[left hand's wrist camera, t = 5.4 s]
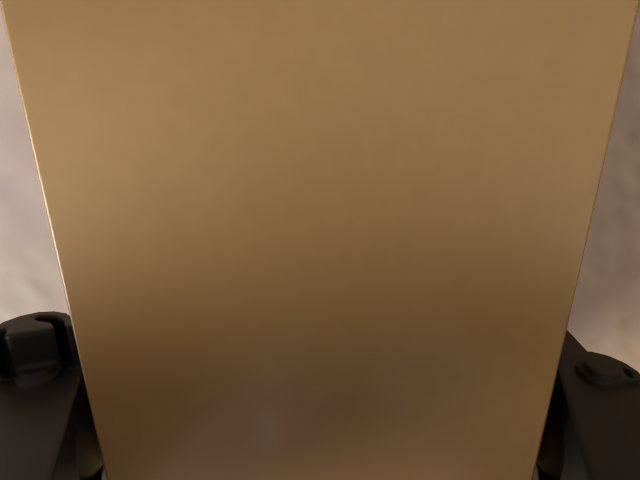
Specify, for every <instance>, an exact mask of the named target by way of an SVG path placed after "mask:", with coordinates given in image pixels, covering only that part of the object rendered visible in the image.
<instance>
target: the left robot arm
mask: <svg viewBox="0 0 640 480" xmlns="http://www.w3.org/2000/svg"><path fill="white" fill-rule="evenodd" d="M0 480H107V478H106V474H105V469H104V465H103V460H102V456H101V452H100V447H99V443H98V438H97V434H96V429H95V425H94V420H93V416H92V411H91V407H90V403H89V398H88V394H87V389H86V385H85V380H84V376H83V371H82V367H81V362H80V358H79V354H78V349H77V345H76V340H75V336H74V331H73V327H72V322H71V318H70V316H69V315H67V314H66V313H60V312H54V311H53V312H37V313H33V314H28V315H23V316H19V317H17V318H14V319H11V320H8V321H6V322H3V323H1V324H0ZM533 480H640V374H639V373H638V372H637V371H636V370H634V369H633V368H631V367H630V366H628V365H627V364H625V363H624V362H621V361H619V360H617V359H614V358H612V357H610V356H606V355H602V354H598V353H594V352H587V351H586V350H585V349H584V348H583V347H582V345H581V344H580V343H579V342H578V341H577V340H576V339H575V338H574V337H573V336H572V335H571V334H570V333H569V332H568V331H567V329H566V334H565V338H564V343H563V347H562V352H561V356H560V360H559V365H558V369H557V374H556V378H555V383H554V387H553V392H552V396H551V401H550V405H549V410H548V414H547V419H546V423H545V428H544V432H543V436H542V441H541V445H540V450H539V454H538V459H537V463H536V468H535V472H534V477H533Z"/></svg>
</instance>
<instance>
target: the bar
mask: <svg viewBox="0 0 640 480" xmlns="http://www.w3.org/2000/svg"><path fill="white" fill-rule="evenodd" d="M639 3H640V0H0V6H1V10H2V15H3V19H4V24H5V28H6V33H7V37H8V42H9V46H10V50H11V55H12V59H13V64H14V68H15V73H16V77H17V82H18V86H19V91H20V95H21V99H22V104H23V108H24V113H25V117H26V122H27V126H28V131H29V135H30V140H31V144H32V149H33V153H34V157H35V162H36V166H37V171H38V175H39V180H40V184H41V189H42V193H43V198H44V202H45V206H46V211H47V215H48V220H49V224H50V229H51V233H52V238H53V242H54V247H55V251H56V255H57V260H58V264H59V269H60V273H61V278H62V282H63V287H64V291H65V296H66V300H67V305H68V309H69V313H70V318H71V322H72V327H73V331H74V336H75V340H76V345H77V349H78V354H79V358H80V362H81V367H82V371H83V376H84V380H85V385H86V389H87V394H88V398H89V403H90V407H91V411H92V416H93V420H94V425H95V429H96V434H97V438H98V443H99V447H100V452H101V456H102V460H103V465H104V469H105V474H106V478H107V480H533V477H534V472H535V468H536V463H537V459H538V454H539V450H540V445H541V441H542V436H543V432H544V428H545V423H546V419H547V414H548V410H549V405H550V401H551V396H552V392H553V387H554V383H555V378H556V374H557V369H558V365H559V360H560V356H561V352H562V347H563V343H564V338H565V334H566V329H567V325H568V320H569V316H570V311H571V307H572V302H573V298H574V293H575V289H576V285H577V280H578V276H579V271H580V267H581V262H582V258H583V253H584V249H585V244H586V240H587V235H588V231H589V226H590V222H591V217H592V213H593V209H594V204H595V200H596V195H597V191H598V186H599V182H600V177H601V173H602V168H603V164H604V159H605V155H606V150H607V146H608V141H609V137H610V133H611V128H612V124H613V119H614V115H615V110H616V106H617V101H618V97H619V92H620V88H621V83H622V79H623V74H624V70H625V65H626V61H627V57H628V52H629V48H630V43H631V39H632V34H633V30H634V25H635V21H636V16H637V12H638V7H639Z"/></svg>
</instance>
